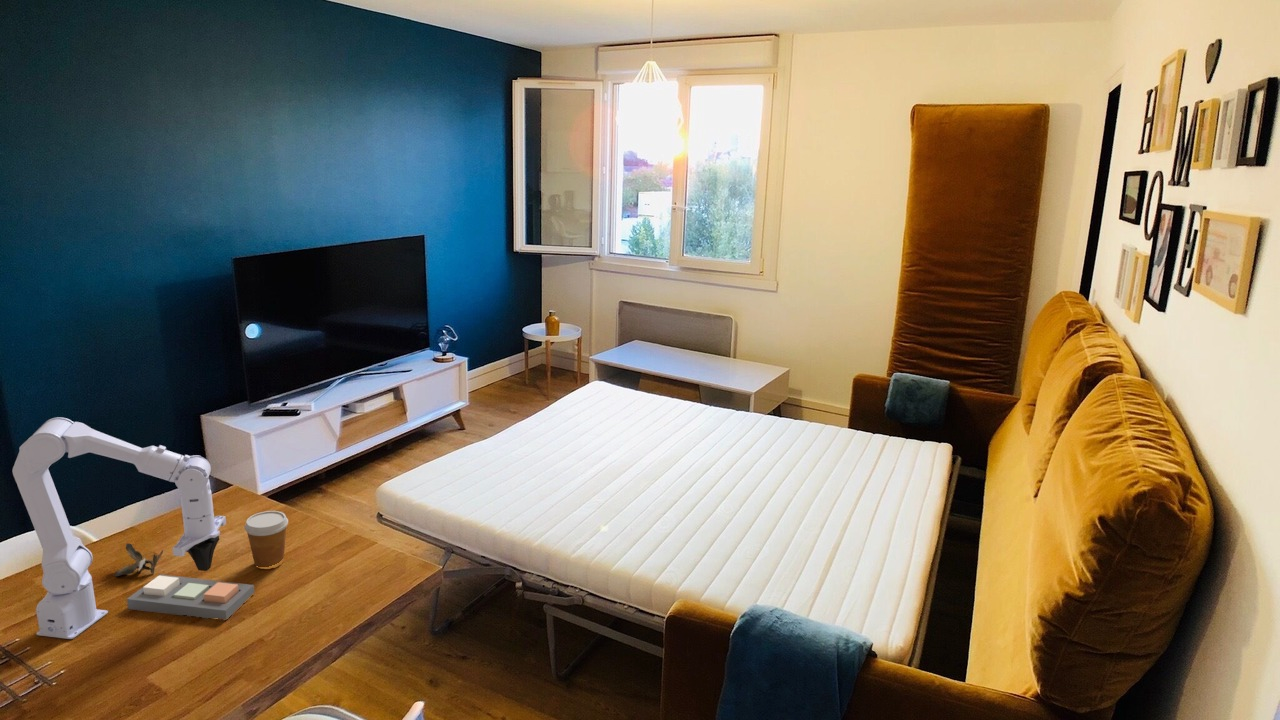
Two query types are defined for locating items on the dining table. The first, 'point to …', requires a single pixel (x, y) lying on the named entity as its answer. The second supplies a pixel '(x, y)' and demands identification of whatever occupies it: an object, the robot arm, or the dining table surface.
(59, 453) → the robot arm
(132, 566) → the eagle figurine
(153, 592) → the ivory key
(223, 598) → the terracotta key
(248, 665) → the dining table surface
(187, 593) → the sage key
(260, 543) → the disposable coffee cup
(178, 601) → the key frame
